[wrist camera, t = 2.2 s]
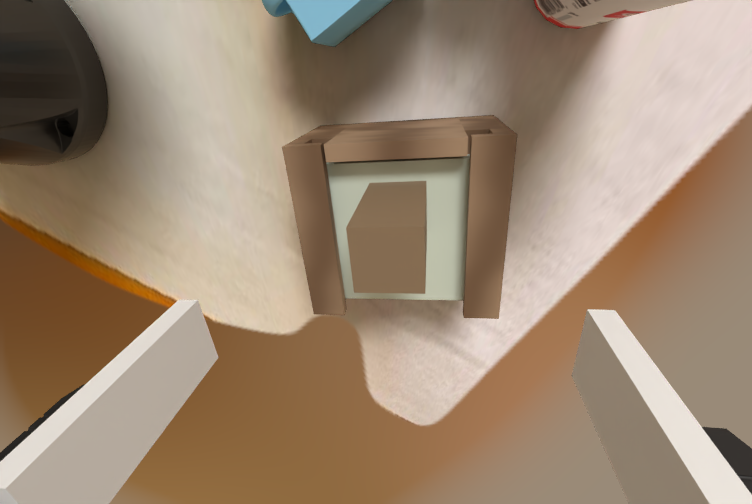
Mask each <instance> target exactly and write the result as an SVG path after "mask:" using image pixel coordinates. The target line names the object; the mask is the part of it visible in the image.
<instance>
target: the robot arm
mask: <svg viewBox="0 0 752 504" xmlns="http://www.w3.org/2000/svg"><path fill="white" fill-rule="evenodd" d="M106 115H107V92H106V85H105V80H104V76H103V72H102V69H101V65H100V62H99V60H98V57H97V54H96V52H95V50H94V47H93V45H92V43H91V41H90V39H89V37H88V35H87V33H86V32H85V30H84V28H83V27H82V25H81V23H80V22H79V20H78V19H77V17H76V16H75V14H74V13H73V12H72V10H71V9H70V8H69V6H68V5H67V4H66V3H65V1H64V0H0V164H17V165H47V164H53V163H57V162H61V161H64V160H68V159H72V158H75V157H78V156H80V155H82V154H84V153H86V152H87V151H88V150H90V149H91V148H92V147H93V146H94V144H95V143H96V142H97V140H98V139H99V137H100V135H101V133H102V131H103V128H104V125H105V121H106ZM217 358H218V355H217V352H216V349H215V346H214V344H213V341H212V338H211V335H210V333H209V330H208V327H207V324H206V321H205V319H204V316H203V313H202V310H201V307H200V305H199V302H198V300H178V301H177V302H176V303H175V304H174V305H173V306H172V307H170V308H169V309H168V310H167V311H166V312H165V313H164V314H163V315H162V316H160V317H159V318H158V319H157V320H156V321H155V322H154V323H153V324H152V325H151V326H149V327H148V328H147V329H146V330H145V331H144V332H143V333H142V334H141V335H140V336H138V338H136V339H135V340H134V341H133V342H132V343H131V344H130V345H128V346H127V347H126V348H125V349H124V350H123V351H122V352H121V353H120V354H119V355H117V356H116V357H115V358H114V359H113V360H112V361H111V362H110V363H109V364H108V365H106V366H105V367H104V368H103V369H102V370H101V371H100V372H99V373H98V374H96V375H95V376H94V377H93V378H92V379H91V380H90V381H89V382H88V383H87V384H85V385H82V386H81V387H79V388H77V389H76V390H74V391H73V392H71V393H69V394H68V395H66V396H65V397H63V398H62V399H60V400H59V401H58V402H57V403H56V404H55V405H54V406H53V407H51V408H50V409H49V410H48V411H47V412H46V413H45V414H44V417H42V418H39V419H38V420H37V421H36V422H34V423H33V424H32V425H31V426H30V427H29V429H28V431H24V432H23V433H22V434H21V435H20V436H19V437H18V438H16V439H15V440H14V441H13V442H12V443H11V444H10V445H9V446H7V447H6V448H5V449H4V450H3V451H2V452H1V453H0V504H109V503H110V502H111V500H112V499H113V498H114V496H115V495H116V494H117V492H118V491H119V490H120V488H121V487H122V486H123V484H124V483H125V482H126V480H127V479H128V478H129V476H130V475H131V474H132V472H133V471H134V470H135V468H136V467H137V466H138V464H139V463H140V462H141V460H142V459H143V457H144V456H145V455H146V453H147V452H148V451H149V450H150V448H151V447H152V446H153V444H154V443H155V442H156V440H157V439H158V437H159V436H160V435H161V434H162V432H163V431H164V429H165V428H166V427H167V425H168V424H169V423H170V421H171V420H172V419H173V417H174V416H175V415H176V413H177V412H178V411H179V409H180V408H181V407H182V405H183V404H184V403H185V401H186V400H187V399H188V397H189V396H190V395H191V393H192V392H193V391H194V389H195V388H196V387H197V385H198V384H199V383H200V381H201V380H202V379H203V377H204V376H205V375H206V373H207V372H208V371H209V369H210V368H211V367H212V365H213V364H214V363H215V361H216V360H217ZM572 377H573V380H574V382H575V384H576V387H577V389H578V391H579V393H580V396H581V398H582V400H583V402H584V404H585V407H586V409H587V411H588V414H589V416H590V418H591V420H592V423H593V425H594V427H595V429H596V432H597V434H598V436H599V438H600V441H601V443H602V445H603V447H604V450H605V452H606V454H607V456H608V459H609V461H610V463H611V465H612V468H613V470H614V472H615V474H616V477H617V479H618V481H619V483H620V486H621V488H622V490H623V492H624V495H625V497H626V499H627V501H628V504H752V449H751V448H750V447H749V446H748V445H746V444H745V443H744V442H742V441H741V440H740V439H738V438H737V437H736V436H735V435H734V434H732V433H731V432H730V431H728V430H727V429H722V428H708V427H701V426H700V425H699V423H698V422H697V420H696V419H695V418H694V416H693V415H692V414H691V412H690V411H689V410H688V408H687V407H686V406H685V404H684V403H683V402H682V400H681V399H680V397H679V396H678V395H677V393H676V392H675V391H674V389H673V388H672V387H671V385H670V384H669V383H668V381H667V380H666V379H665V377H664V376H663V375H662V373H661V372H660V371H659V369H658V368H657V366H656V365H655V364H654V362H652V360H651V358H650V357H649V356H648V354H647V353H646V352H645V350H644V349H643V348H642V346H641V345H640V343H639V342H638V341H637V340H636V338H635V337H634V335H633V334H632V333H631V331H630V330H629V329H628V327H627V326H626V325H625V323H624V322H623V321H622V319H621V318H620V317H619V315H618V314H617V312H616V311H615V310H587V313H586V317H585V321H584V326H583V330H582V334H581V339H580V343H579V347H578V351H577V356H576V360H575V364H574V369H573V373H572Z"/></svg>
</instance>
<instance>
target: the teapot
mask: <svg viewBox="0 0 752 504" xmlns="http://www.w3.org/2000/svg"><path fill="white" fill-rule="evenodd" d="M391 1H392V0H262V2H263V5H264V7H265V9H266V10H267V11H268V13H269V14H271V15H272V16H274V17H279V16H283V15H286V14H288V13H293V14H294V15H295V16H296V18H297V19H298V21H299V23H300V24H301V26H302V27H303V29H304V31H305V32H306V34H307V35H308V37H309V39H310V40H311V42H312V43H317V44H322V45H328V46H333V47H335V46H337V45H338V44H339V43H340V42H342V41H343V40H344V39H345V38H347V37H348V36H349V35H350V34H352V33H353V32H354V31H355V30H356V29H358V28H359V27H360V26H361V25H363V24H364V23H365V22H366V21H368V20H369V19H370V18H371V17H373V16H374V15H375V14H376V13H377V12H379V11H380V10H381V9H382V8H384V7H385V6H386V5H387V4H389V3H390V2H391Z"/></svg>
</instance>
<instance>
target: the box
mask: <svg viewBox="0 0 752 504" xmlns="http://www.w3.org/2000/svg"><path fill="white" fill-rule="evenodd" d="M516 142H517V134H516V133H515V132H513V131H512V130H511V129H510V128H509V127H507V126H506V125H505V124H504V123H502V122H501V121H500V120H499V119H498V118H496V117H495V116H494V115H488V116H472V117H455V118H439V119H423V120H406V121H390V122H374V123H358V124H341V125H325V126H319V127H318V128H316V129H314V130H312V131H310V132H308V133H307V134H305V135H303V136H301V137H299V138H298V139H296V140H294V141H292V142H290V143H288V144H287V145H285V146H283V147H282V149H283V154H284V160H285V165H286V170H287V175H288V180H289V186H290V191H291V196H292V201H293V207H294V212H295V217H296V222H297V228H298V233H299V238H300V243H301V249H302V254H303V259H304V264H305V269H306V275H307V280H308V285H309V290H310V296H311V301H312V306H313V311H314V314H329V315H345V312H346V309H347V308H346V301H345V294H344V287H343V279H342V272H341V265H340V258H339V251H338V243H337V236H336V229H335V222H334V214H333V207H332V200H331V193H330V186H329V178H328V171H327V164H326V162H346V161H369V160H391V159H413V158H436V157H458V156H467V154H470V162H469V185H468V208H467V231H466V254H465V277H464V299H463V316H464V318H494V319H499V310H500V300H501V290H502V280H503V271H504V261H505V251H506V241H507V231H508V221H509V211H510V201H511V191H512V181H513V172H514V162H515V152H516Z"/></svg>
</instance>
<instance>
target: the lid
mask: <svg viewBox="0 0 752 504" xmlns="http://www.w3.org/2000/svg"><path fill="white" fill-rule="evenodd" d="M469 162H470V154H467V156H458V157H436V158H413V159H391V160H369V161H346V162H326V164H327V171H328V178H329V186H330V193H331V200H332V207H333V214H334V222H335V229H336V236H337V243H338V251H339V258H340V265H341V272H342V279H343V287H344V294H345V298H349V299H408V300H463V299H464V277H465V254H466V231H467V208H468V185H469Z"/></svg>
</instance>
